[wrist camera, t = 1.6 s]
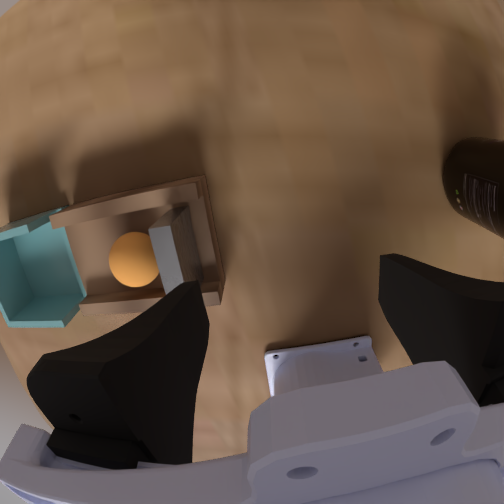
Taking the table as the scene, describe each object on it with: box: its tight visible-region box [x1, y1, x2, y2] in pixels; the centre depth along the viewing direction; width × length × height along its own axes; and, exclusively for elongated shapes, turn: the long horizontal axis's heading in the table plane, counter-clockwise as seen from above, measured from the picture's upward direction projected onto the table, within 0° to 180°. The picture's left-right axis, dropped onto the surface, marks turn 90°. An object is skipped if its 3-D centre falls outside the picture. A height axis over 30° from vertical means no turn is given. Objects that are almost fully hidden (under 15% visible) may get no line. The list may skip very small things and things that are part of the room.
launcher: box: [49, 175, 225, 316], centre depth 20 cm, size 11×8×4 cm
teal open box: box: [0, 205, 87, 327], centre depth 20 cm, size 8×8×5 cm
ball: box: [109, 232, 159, 287], centre depth 19 cm, size 4×4×4 cm
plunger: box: [148, 206, 204, 295], centre depth 18 cm, size 1×5×4 cm, turn 8°
